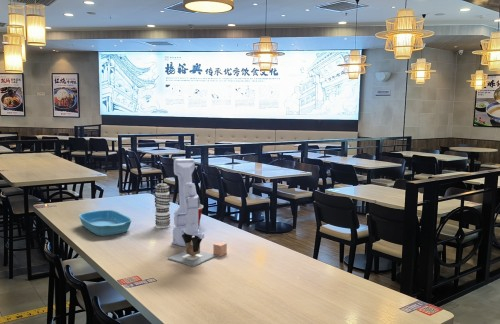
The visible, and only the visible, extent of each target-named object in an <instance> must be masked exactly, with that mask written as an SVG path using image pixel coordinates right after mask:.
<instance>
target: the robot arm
mask: <svg viewBox="0 0 500 324" xmlns="http://www.w3.org/2000/svg"><path fill="white" fill-rule="evenodd" d="M195 167H196V165H195V159H194V158H174V160H173V173H174V175H175V176H177V179H178V194H179V195H178V196H179V197H178V198H179V201H178V202H179V207H178V208H177V209H176V210H175V211H174V214H173V221H174V227H173V229H172V242H171V244H173V245H177V246H181V247H185V248H186V243H188V242H191V241H192V243H193V250H194V252H197V251H198V249H199V245H200V246H201V242H202V240H203V239H205V233H203V232H201V230H200V229H199V226H198V208H199V207H200V204H201V200H200V197H199V195H198V194H197V189H196V188H197V187H196V185H195V183H193V173H194V171H195Z"/></svg>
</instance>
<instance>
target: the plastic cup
mask: <svg viewBox="0 0 500 324" xmlns="http://www.w3.org/2000/svg"><path fill="white" fill-rule="evenodd" d="M203 208H204V205H203V204H201V203H200V207H199V208H198V227H199V226H200V225H201V224H200V222H201V217H202V211H203Z"/></svg>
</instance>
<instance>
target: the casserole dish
mask: <svg viewBox="0 0 500 324" xmlns="http://www.w3.org/2000/svg"><path fill="white" fill-rule="evenodd" d="M78 217H79V220H80V222H81V224H82V227H85V229H88V231H90V232H91V233H93V234H95V235H97V236H98V237H106V236H113V235H118V234H123V233H125V232H127V231H128V230H129V229H130V227H131V223H132V220H133V219H132V218H130V217H128V216H127V215H125V214H123V213H120V212H119V211H116V210H113V209H103V210H102V209H99V210H90V211H87V212H83V213H80V214H79V215H78Z"/></svg>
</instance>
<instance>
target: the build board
mask: <svg viewBox="0 0 500 324" xmlns="http://www.w3.org/2000/svg"><path fill="white" fill-rule="evenodd" d="M216 257H217V255H215V254H213V253H209V252H206V251H203V250H200V253H199V254H196V255H193V256H192V255H189V254H187V253H186V250H184V251H182V252H179V253H177V254H173V255H172V256H169V257H167V260H169V261H171V262H177V263H180V264H183V265H187V266H189V267H193V268H194V267H196V266H199V265H201V264H202V263H205V262H207V261H210V260H212V259H214V258H216Z"/></svg>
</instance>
